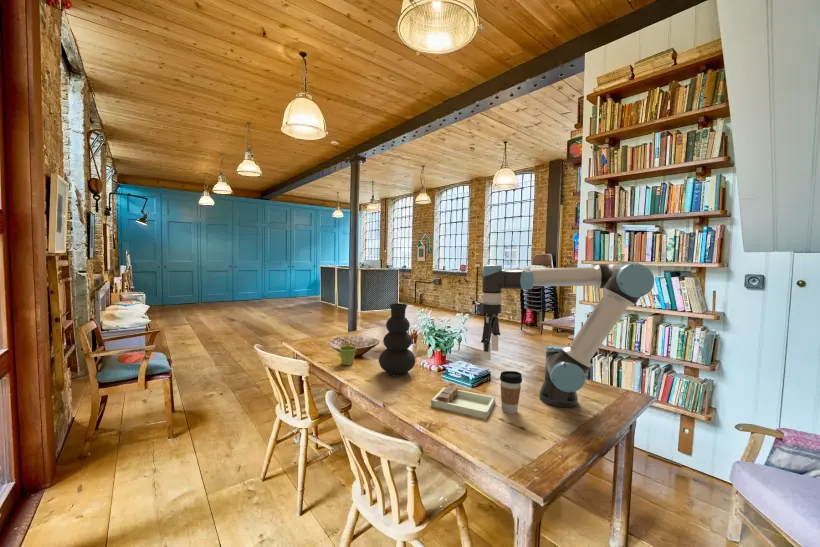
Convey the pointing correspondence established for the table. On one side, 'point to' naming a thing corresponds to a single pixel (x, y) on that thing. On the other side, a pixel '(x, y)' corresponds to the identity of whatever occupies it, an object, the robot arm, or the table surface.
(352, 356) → the plant pot
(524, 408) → the table surface
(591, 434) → the table surface
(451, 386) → the walnut block
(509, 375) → the coffee cup
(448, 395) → the walnut block
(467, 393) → the tray
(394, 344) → the vase
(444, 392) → the walnut block
